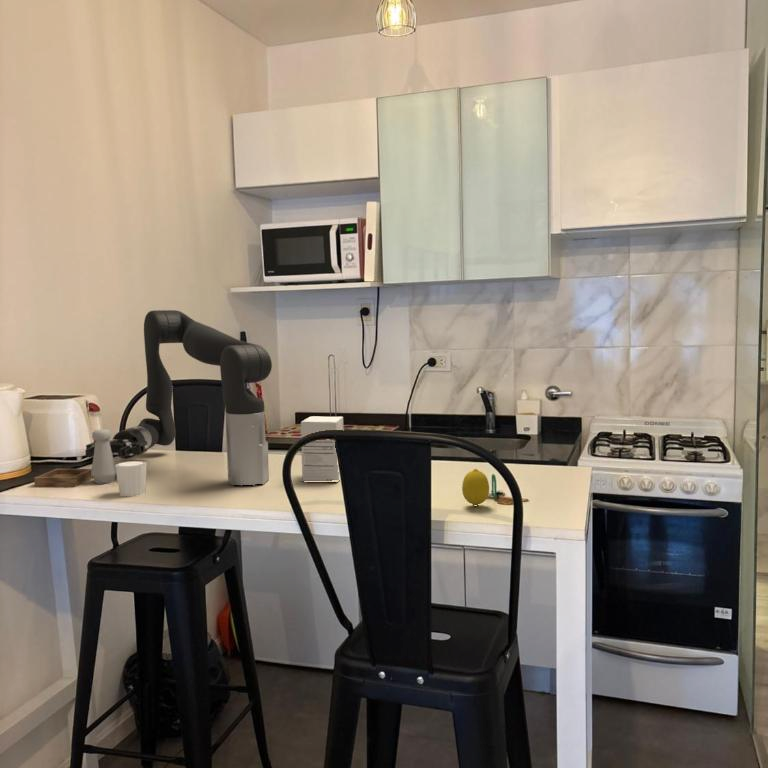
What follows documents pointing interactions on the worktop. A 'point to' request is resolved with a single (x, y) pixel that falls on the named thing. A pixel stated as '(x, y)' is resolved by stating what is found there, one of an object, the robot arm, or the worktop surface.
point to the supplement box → (320, 450)
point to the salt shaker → (103, 458)
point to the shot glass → (131, 477)
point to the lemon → (475, 487)
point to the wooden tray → (63, 478)
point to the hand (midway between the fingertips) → (104, 453)
